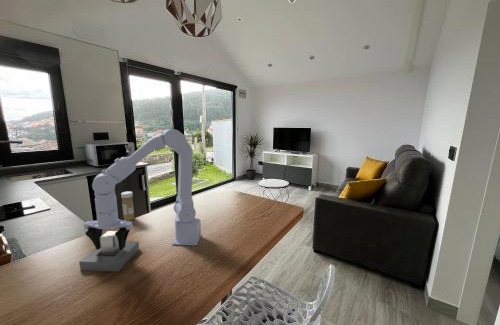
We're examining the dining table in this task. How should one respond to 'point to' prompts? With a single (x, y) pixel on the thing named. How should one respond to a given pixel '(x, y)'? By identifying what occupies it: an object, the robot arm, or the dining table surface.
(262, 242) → the dining table surface
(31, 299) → the dining table surface
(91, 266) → the frame
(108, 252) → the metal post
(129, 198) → the sprinkles bottle
